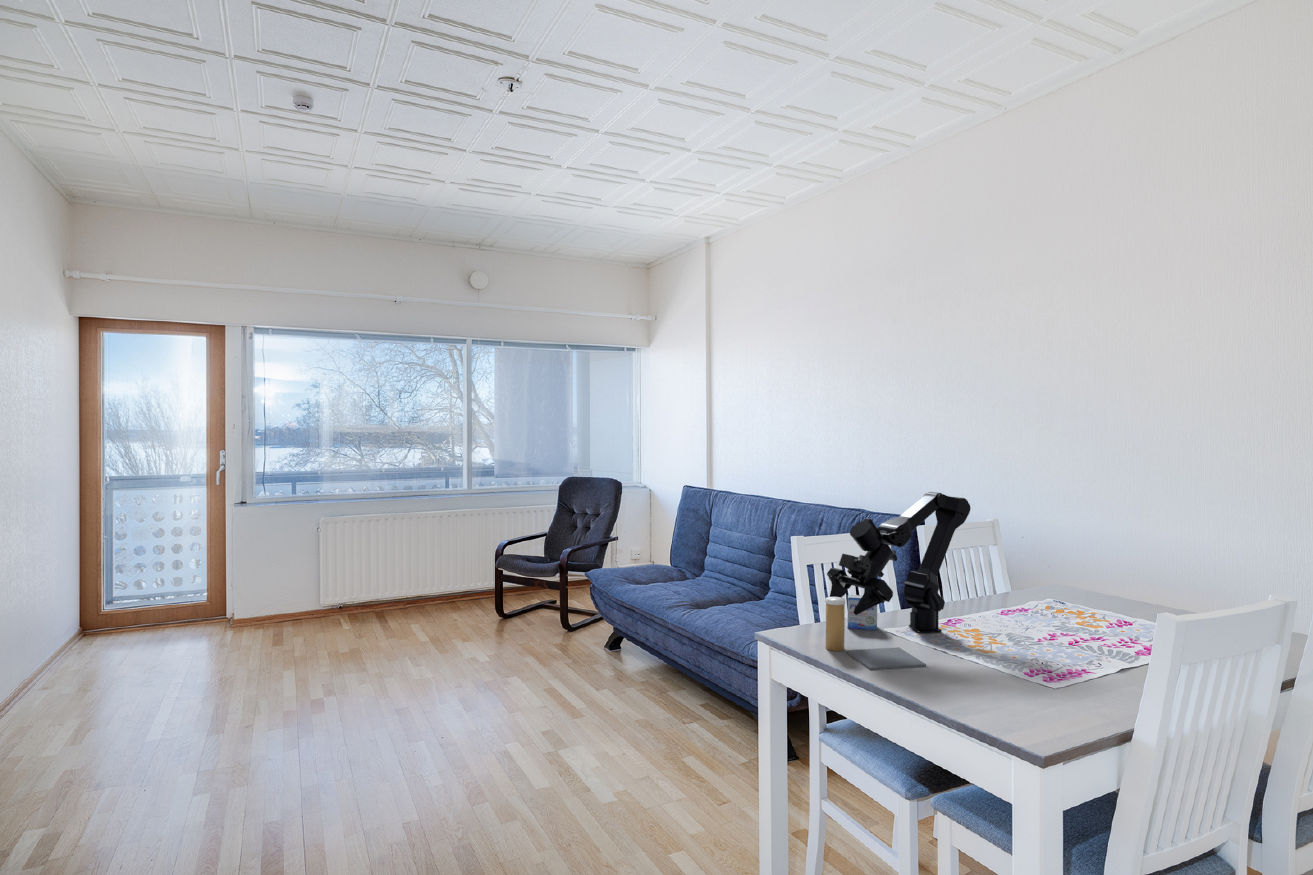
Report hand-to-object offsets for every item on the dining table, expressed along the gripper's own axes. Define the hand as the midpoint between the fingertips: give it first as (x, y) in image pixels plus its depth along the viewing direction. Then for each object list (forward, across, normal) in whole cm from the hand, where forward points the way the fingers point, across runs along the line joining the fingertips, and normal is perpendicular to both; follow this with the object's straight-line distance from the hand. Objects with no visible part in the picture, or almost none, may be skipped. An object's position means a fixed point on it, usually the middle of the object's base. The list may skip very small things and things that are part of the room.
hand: (841, 609), depth 184 cm
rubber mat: (+5, +12, +8) cm, 16 cm away
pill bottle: (+8, 0, +5) cm, 10 cm away
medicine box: (-6, -10, +19) cm, 23 cm away
